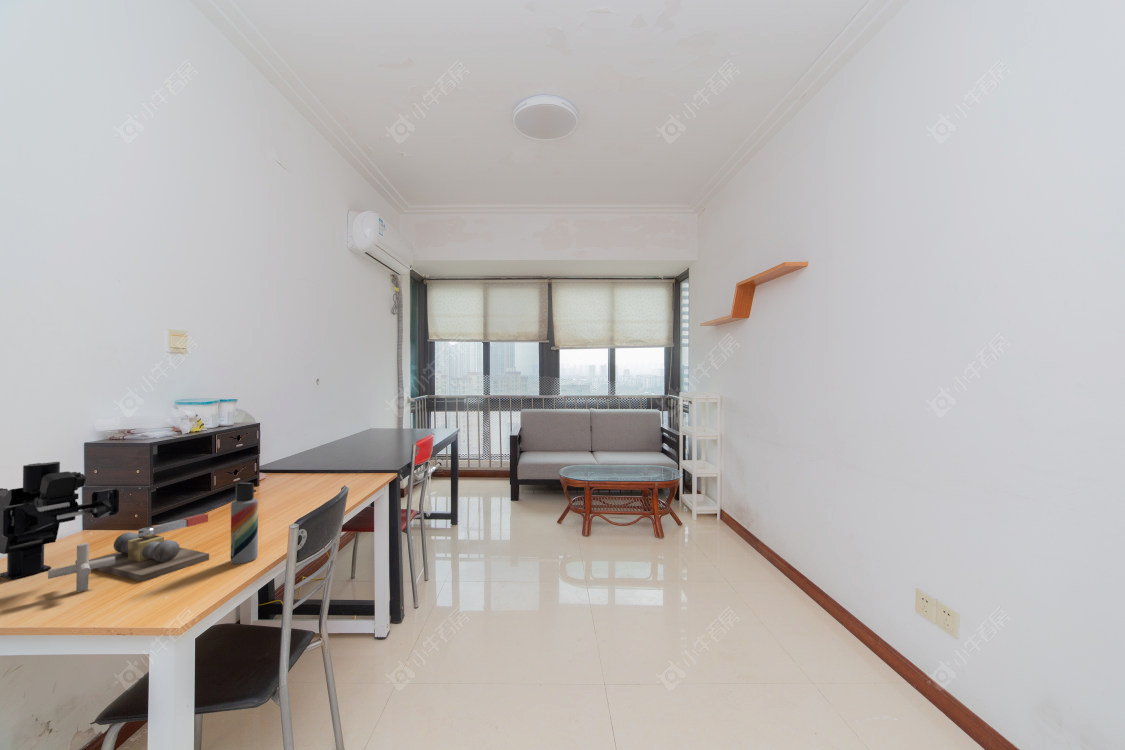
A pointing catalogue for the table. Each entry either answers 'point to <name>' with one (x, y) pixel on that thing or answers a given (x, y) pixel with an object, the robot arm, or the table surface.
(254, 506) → the lotion bottle
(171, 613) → the table surface
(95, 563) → the pipe connector
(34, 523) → the robot arm
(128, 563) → the valve mount
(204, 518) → the lever
